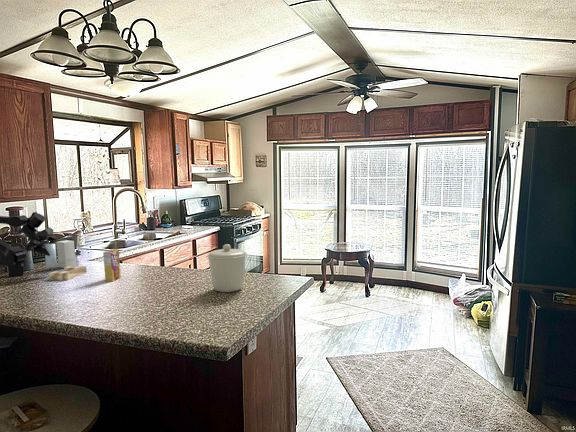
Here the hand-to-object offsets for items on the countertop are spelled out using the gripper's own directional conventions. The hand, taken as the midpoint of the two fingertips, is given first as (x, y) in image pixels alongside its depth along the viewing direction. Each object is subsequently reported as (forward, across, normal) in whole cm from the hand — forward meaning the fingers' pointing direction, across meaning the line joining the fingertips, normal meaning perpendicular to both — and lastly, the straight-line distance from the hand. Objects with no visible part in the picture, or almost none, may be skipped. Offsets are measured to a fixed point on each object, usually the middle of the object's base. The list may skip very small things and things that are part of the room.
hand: (53, 254), depth 214 cm
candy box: (+34, -6, -18) cm, 39 cm away
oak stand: (+14, 0, +2) cm, 14 cm away
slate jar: (+4, 0, +6) cm, 7 cm away
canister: (+79, -20, -63) cm, 104 cm away
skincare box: (+3, +21, +14) cm, 25 cm away
